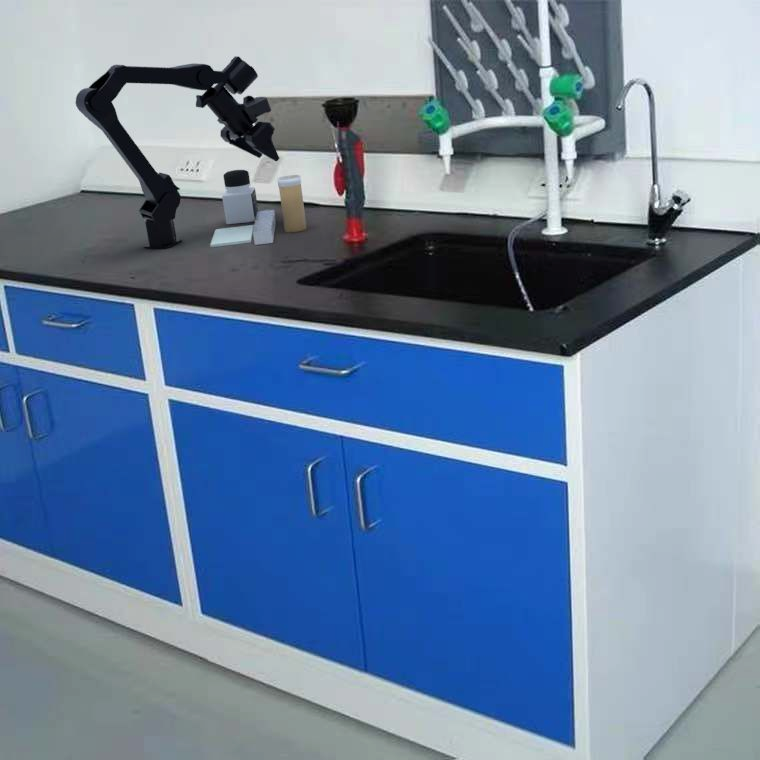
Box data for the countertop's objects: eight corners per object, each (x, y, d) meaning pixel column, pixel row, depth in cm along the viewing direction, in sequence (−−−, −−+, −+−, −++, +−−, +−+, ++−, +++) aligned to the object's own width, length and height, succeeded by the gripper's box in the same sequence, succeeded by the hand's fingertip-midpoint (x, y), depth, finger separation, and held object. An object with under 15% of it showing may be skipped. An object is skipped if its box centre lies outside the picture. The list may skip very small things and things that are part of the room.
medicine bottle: (255, 221, 302) (248, 172, 298) (226, 224, 303) (218, 175, 299) (259, 215, 309) (252, 166, 305) (230, 218, 309) (222, 169, 306)
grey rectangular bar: (272, 242, 279) (271, 229, 278) (254, 245, 278) (252, 231, 277) (276, 219, 302) (274, 207, 301) (259, 221, 302) (257, 209, 301)
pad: (210, 247, 281) (210, 244, 281) (216, 231, 296) (215, 229, 296) (250, 242, 281) (250, 239, 281) (254, 227, 296) (253, 224, 296)
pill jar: (300, 232, 286) (293, 179, 282) (280, 232, 288) (273, 180, 284) (311, 226, 290) (304, 174, 286) (291, 227, 292) (284, 175, 288)
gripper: (267, 85, 282) (310, 136, 291) (233, 82, 298) (274, 131, 306) (234, 120, 280) (277, 171, 289) (201, 115, 296) (244, 163, 304)
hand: (269, 158), depth 297 cm, fingers open, 9 cm apart
